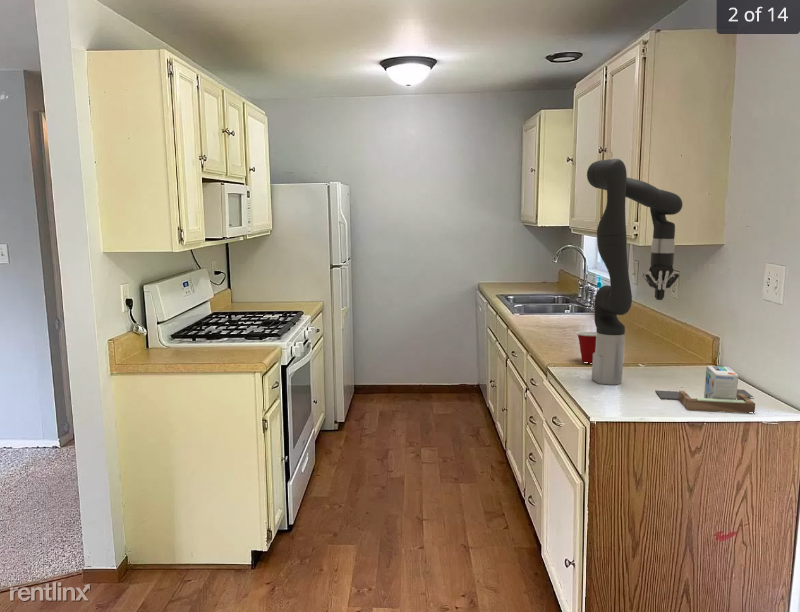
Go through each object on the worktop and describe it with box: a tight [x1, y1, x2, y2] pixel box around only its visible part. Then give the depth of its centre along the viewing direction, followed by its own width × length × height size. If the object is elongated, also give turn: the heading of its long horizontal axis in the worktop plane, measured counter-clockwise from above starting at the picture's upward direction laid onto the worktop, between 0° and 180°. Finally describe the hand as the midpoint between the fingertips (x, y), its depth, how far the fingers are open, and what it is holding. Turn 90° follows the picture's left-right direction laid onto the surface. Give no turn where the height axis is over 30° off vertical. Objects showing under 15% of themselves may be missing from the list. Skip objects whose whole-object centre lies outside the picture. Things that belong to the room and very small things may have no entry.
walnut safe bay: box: [678, 390, 756, 414], centre depth 186 cm, size 10×18×3 cm, turn 80°
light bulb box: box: [703, 365, 739, 400], centre depth 188 cm, size 11×7×11 cm, turn 167°
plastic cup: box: [576, 331, 596, 363], centre depth 238 cm, size 11×11×12 cm
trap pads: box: [655, 388, 754, 401], centre depth 197 cm, size 14×29×1 cm, turn 80°
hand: (659, 299), depth 220 cm, fingers closed
